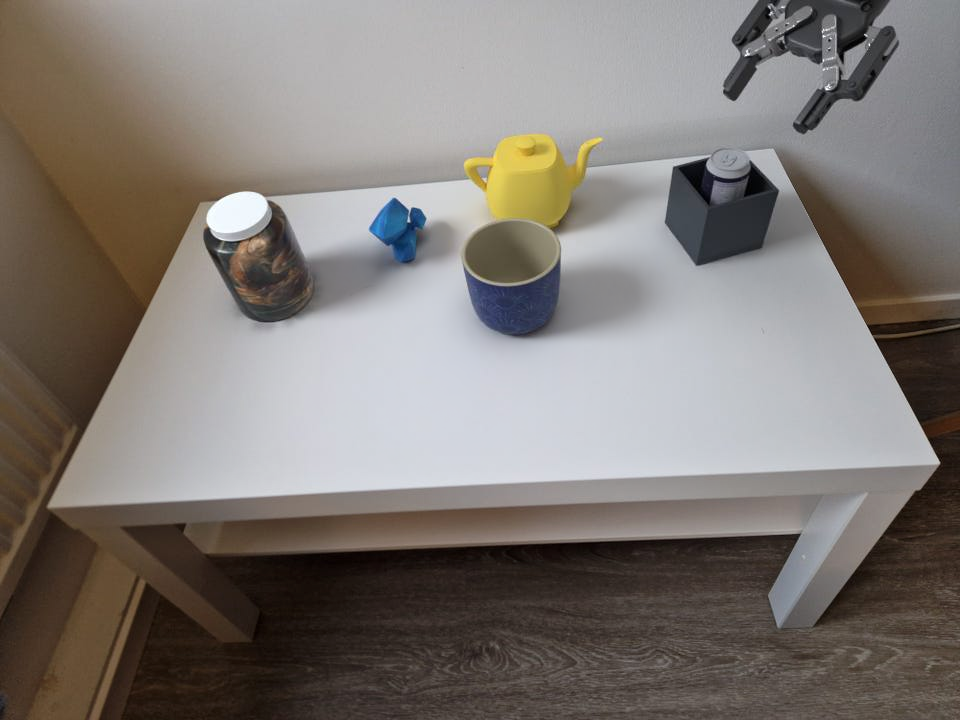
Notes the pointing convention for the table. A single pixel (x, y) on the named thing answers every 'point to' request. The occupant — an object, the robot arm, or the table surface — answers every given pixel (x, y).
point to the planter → (513, 274)
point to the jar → (258, 256)
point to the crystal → (398, 228)
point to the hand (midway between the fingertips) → (761, 113)
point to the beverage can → (725, 176)
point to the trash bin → (718, 214)
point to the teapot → (530, 178)
